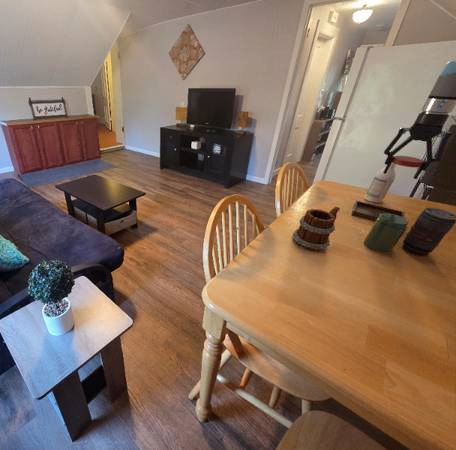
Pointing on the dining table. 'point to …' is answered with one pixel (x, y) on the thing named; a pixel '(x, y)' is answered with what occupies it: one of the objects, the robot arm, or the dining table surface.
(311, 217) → the mug
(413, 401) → the dining table surface
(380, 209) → the tray
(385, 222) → the jar
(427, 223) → the camera lens
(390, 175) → the bath foam
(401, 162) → the lid
